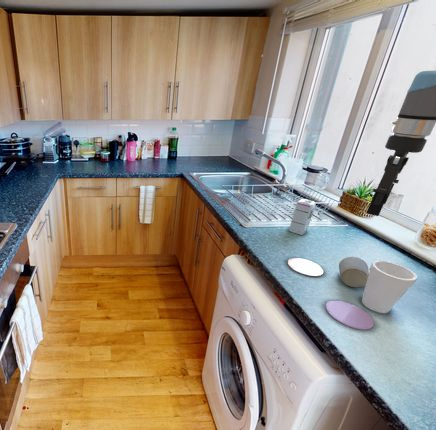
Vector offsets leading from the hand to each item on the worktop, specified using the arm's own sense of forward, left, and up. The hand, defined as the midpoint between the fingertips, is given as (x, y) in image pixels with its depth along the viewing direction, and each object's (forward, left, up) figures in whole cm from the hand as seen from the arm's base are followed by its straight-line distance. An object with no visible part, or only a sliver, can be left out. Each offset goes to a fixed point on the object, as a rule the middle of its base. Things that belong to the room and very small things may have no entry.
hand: (376, 208), depth 85 cm
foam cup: (-3, +12, -27) cm, 29 cm away
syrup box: (+2, -35, -27) cm, 44 cm away
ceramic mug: (-3, +1, -27) cm, 27 cm away
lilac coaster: (+7, +18, -26) cm, 33 cm away
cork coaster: (+10, -5, -26) cm, 29 cm away
